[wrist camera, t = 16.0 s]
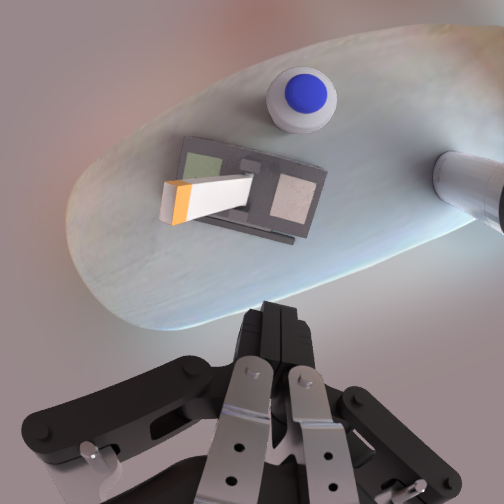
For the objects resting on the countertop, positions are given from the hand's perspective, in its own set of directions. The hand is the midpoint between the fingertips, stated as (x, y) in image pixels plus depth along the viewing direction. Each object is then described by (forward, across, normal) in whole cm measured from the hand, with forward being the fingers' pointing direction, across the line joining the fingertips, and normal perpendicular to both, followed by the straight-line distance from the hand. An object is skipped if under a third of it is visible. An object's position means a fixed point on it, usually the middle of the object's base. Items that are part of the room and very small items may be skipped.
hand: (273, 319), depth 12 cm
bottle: (+31, 0, -12) cm, 33 cm away
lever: (+26, +4, 0) cm, 26 cm away
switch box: (+31, +4, 0) cm, 31 cm away
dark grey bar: (+31, +4, +7) cm, 32 cm away
